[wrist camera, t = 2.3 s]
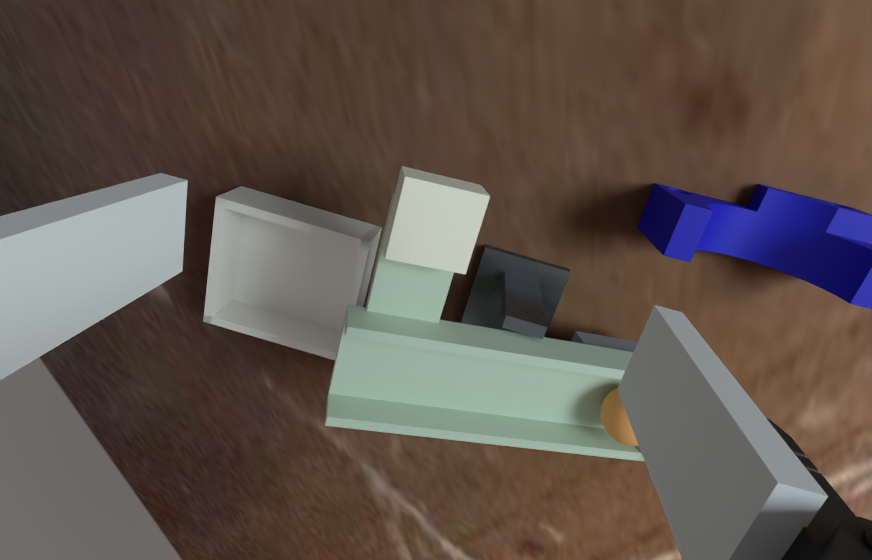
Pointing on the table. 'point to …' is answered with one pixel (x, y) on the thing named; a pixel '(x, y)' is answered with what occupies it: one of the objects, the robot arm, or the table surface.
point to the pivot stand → (514, 293)
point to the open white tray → (286, 270)
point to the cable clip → (769, 235)
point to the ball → (617, 420)
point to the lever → (462, 345)
